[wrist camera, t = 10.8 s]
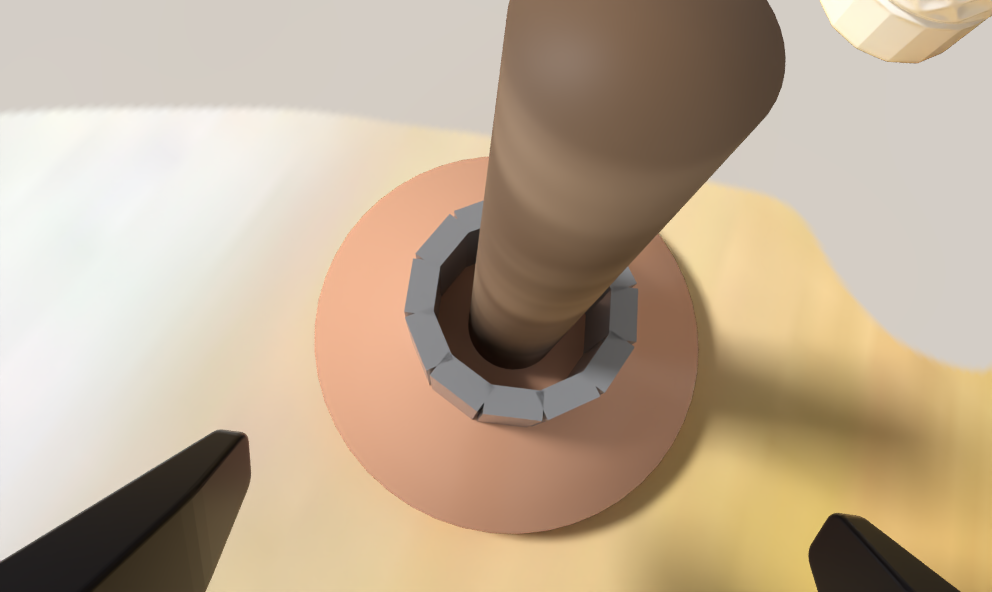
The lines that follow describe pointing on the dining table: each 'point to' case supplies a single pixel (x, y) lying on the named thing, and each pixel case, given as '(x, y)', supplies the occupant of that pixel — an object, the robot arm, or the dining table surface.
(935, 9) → the white cup
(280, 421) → the dining table surface
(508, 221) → the walnut dowel
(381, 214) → the dowel holder
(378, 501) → the dining table surface
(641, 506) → the dining table surface
